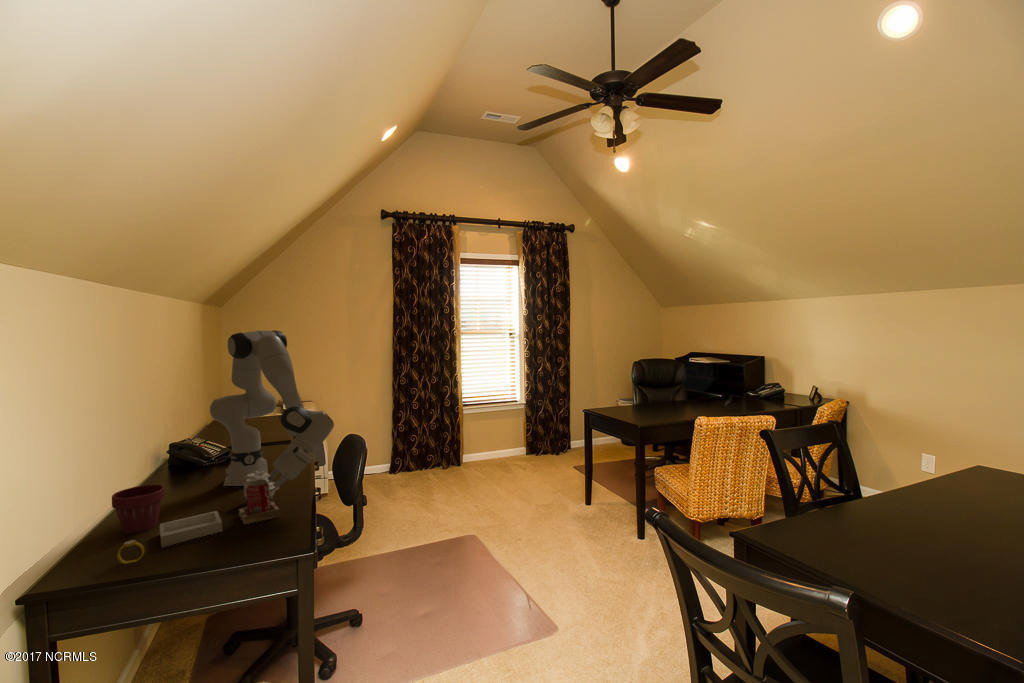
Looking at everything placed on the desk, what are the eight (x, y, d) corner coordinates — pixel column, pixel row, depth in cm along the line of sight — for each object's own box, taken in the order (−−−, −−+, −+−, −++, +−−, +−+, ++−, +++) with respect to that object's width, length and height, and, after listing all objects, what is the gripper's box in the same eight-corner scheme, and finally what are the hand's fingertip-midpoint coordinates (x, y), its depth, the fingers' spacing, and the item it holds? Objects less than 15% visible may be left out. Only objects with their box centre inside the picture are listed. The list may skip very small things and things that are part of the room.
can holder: (239, 515, 166) (238, 509, 166) (273, 507, 173) (272, 501, 173) (244, 525, 158) (244, 518, 158) (279, 516, 164) (279, 509, 164)
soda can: (267, 510, 170) (265, 478, 170) (273, 515, 165) (271, 482, 165) (245, 516, 165) (243, 483, 165) (251, 521, 160) (249, 487, 160)
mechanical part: (285, 498, 183) (283, 468, 183) (254, 508, 173) (252, 476, 173) (269, 493, 189) (268, 464, 189) (239, 503, 179) (237, 472, 179)
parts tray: (160, 534, 153) (159, 524, 153) (217, 520, 163) (217, 510, 163) (161, 548, 143) (160, 536, 142) (222, 532, 152) (221, 521, 152)
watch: (117, 567, 132) (114, 547, 131) (120, 563, 134) (117, 543, 134) (143, 560, 134) (140, 540, 134) (146, 556, 137) (143, 537, 137)
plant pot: (174, 523, 162) (172, 486, 161) (125, 540, 149) (123, 500, 149) (154, 516, 169) (151, 481, 168) (105, 532, 156) (103, 494, 156)
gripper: (285, 442, 180) (258, 472, 175) (299, 451, 164) (270, 485, 159) (298, 451, 183) (272, 481, 177) (313, 461, 167) (285, 495, 161)
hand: (271, 483), depth 168 cm, fingers open, 8 cm apart
